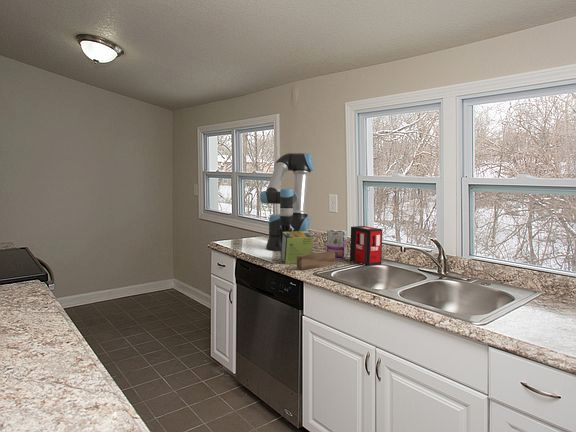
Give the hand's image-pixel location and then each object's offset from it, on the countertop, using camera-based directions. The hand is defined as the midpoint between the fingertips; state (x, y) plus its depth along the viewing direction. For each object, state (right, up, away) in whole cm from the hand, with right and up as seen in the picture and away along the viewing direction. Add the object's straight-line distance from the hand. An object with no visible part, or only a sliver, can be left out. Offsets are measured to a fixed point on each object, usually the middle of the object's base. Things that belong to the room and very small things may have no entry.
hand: (285, 255), depth 252 cm
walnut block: (+16, -4, -20) cm, 26 cm away
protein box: (+6, -2, -6) cm, 9 cm away
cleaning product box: (+45, -4, -6) cm, 46 cm away
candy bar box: (+31, -2, +10) cm, 33 cm away
